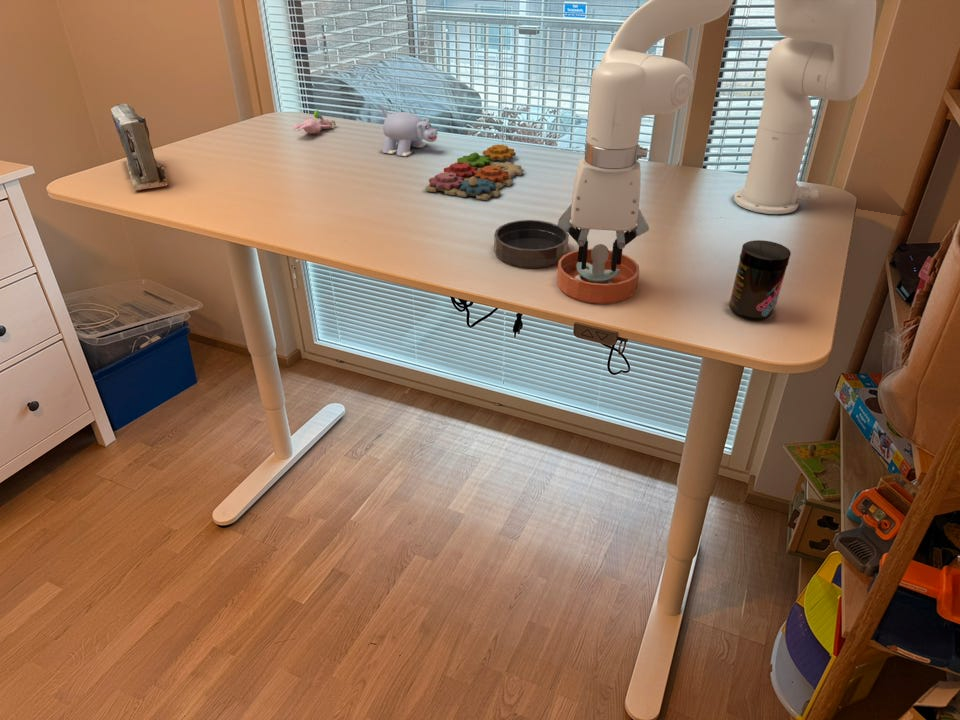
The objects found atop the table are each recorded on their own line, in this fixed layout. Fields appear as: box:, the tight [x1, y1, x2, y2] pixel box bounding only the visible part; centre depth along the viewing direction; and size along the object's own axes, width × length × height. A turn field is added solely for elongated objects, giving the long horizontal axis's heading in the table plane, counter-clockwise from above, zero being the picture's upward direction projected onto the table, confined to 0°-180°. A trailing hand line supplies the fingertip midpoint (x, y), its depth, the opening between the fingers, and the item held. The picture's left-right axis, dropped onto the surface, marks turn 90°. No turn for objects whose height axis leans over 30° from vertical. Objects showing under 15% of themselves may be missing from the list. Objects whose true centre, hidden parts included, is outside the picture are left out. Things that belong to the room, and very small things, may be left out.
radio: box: [110, 103, 169, 191], centre depth 153 cm, size 23×9×15 cm, turn 23°
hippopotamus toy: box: [379, 107, 439, 157], centre depth 170 cm, size 11×15×10 cm
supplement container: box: [728, 239, 792, 322], centre depth 104 cm, size 7×7×10 cm
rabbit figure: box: [292, 109, 337, 135], centre depth 182 cm, size 6×6×15 cm
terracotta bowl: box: [556, 248, 641, 305], centre depth 113 cm, size 13×13×4 cm
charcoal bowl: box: [493, 219, 570, 269], centre depth 123 cm, size 13×13×4 cm
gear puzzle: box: [425, 144, 524, 201], centre depth 156 cm, size 31×16×4 cm, turn 157°
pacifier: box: [575, 243, 621, 284], centre depth 112 cm, size 7×6×6 cm
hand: (598, 265), depth 112 cm, fingers open, 4 cm apart
